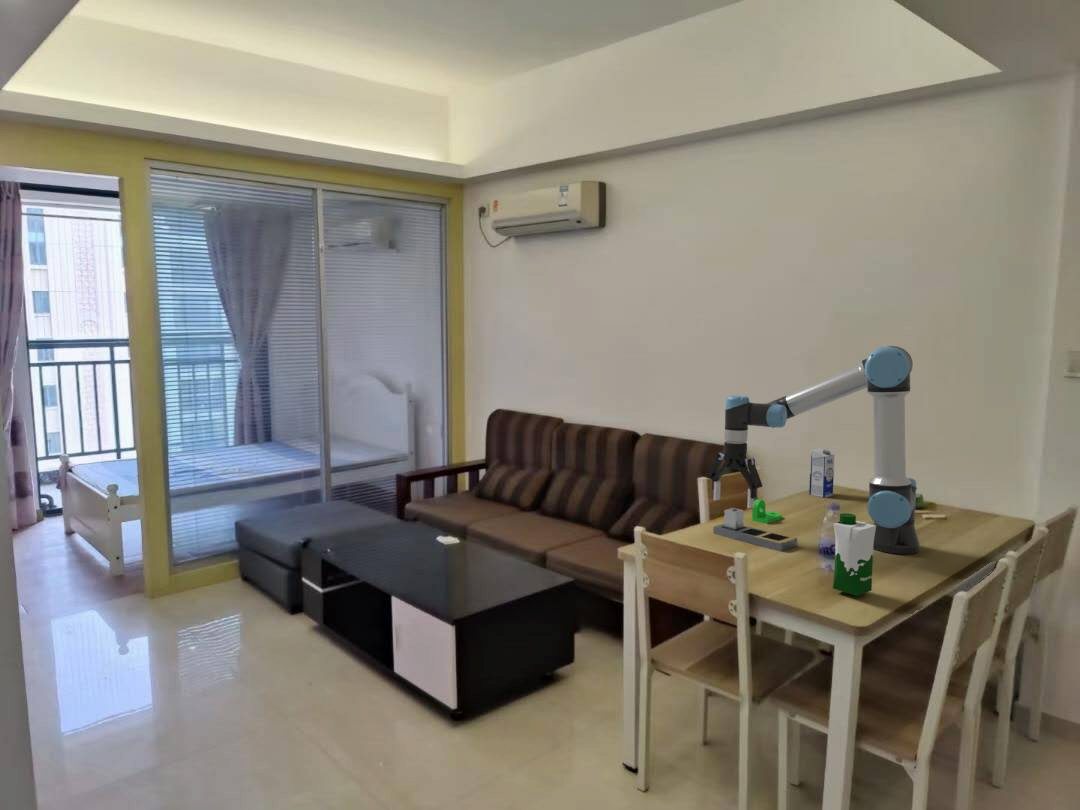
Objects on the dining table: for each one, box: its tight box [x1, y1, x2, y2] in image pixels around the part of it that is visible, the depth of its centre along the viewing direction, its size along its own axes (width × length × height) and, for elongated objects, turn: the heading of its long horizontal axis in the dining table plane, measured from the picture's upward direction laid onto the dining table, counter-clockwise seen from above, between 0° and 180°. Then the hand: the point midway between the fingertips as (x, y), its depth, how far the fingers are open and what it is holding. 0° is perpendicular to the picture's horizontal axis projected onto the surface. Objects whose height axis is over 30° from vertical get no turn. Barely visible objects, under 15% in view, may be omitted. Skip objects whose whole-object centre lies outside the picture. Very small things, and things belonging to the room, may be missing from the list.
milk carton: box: [808, 447, 835, 499], centre depth 301 cm, size 7×7×20 cm
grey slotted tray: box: [712, 523, 798, 552], centre depth 243 cm, size 26×9×3 cm, turn 40°
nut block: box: [723, 507, 745, 531], centre depth 248 cm, size 4×4×8 cm
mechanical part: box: [751, 498, 782, 525], centre depth 267 cm, size 12×6×8 cm, turn 133°
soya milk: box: [832, 513, 876, 597], centre depth 195 cm, size 9×9×20 cm
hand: (733, 503), depth 248 cm, fingers open, 13 cm apart
